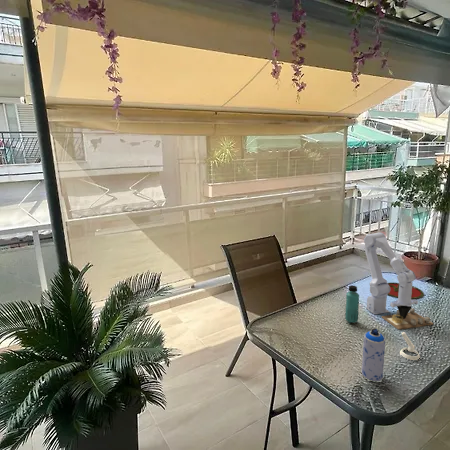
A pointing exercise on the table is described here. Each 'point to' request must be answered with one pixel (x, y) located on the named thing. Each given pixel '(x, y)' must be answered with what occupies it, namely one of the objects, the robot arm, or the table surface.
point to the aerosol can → (373, 355)
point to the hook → (411, 348)
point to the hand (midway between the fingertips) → (402, 318)
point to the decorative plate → (395, 291)
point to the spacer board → (409, 320)
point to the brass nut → (397, 318)
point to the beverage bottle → (352, 304)
